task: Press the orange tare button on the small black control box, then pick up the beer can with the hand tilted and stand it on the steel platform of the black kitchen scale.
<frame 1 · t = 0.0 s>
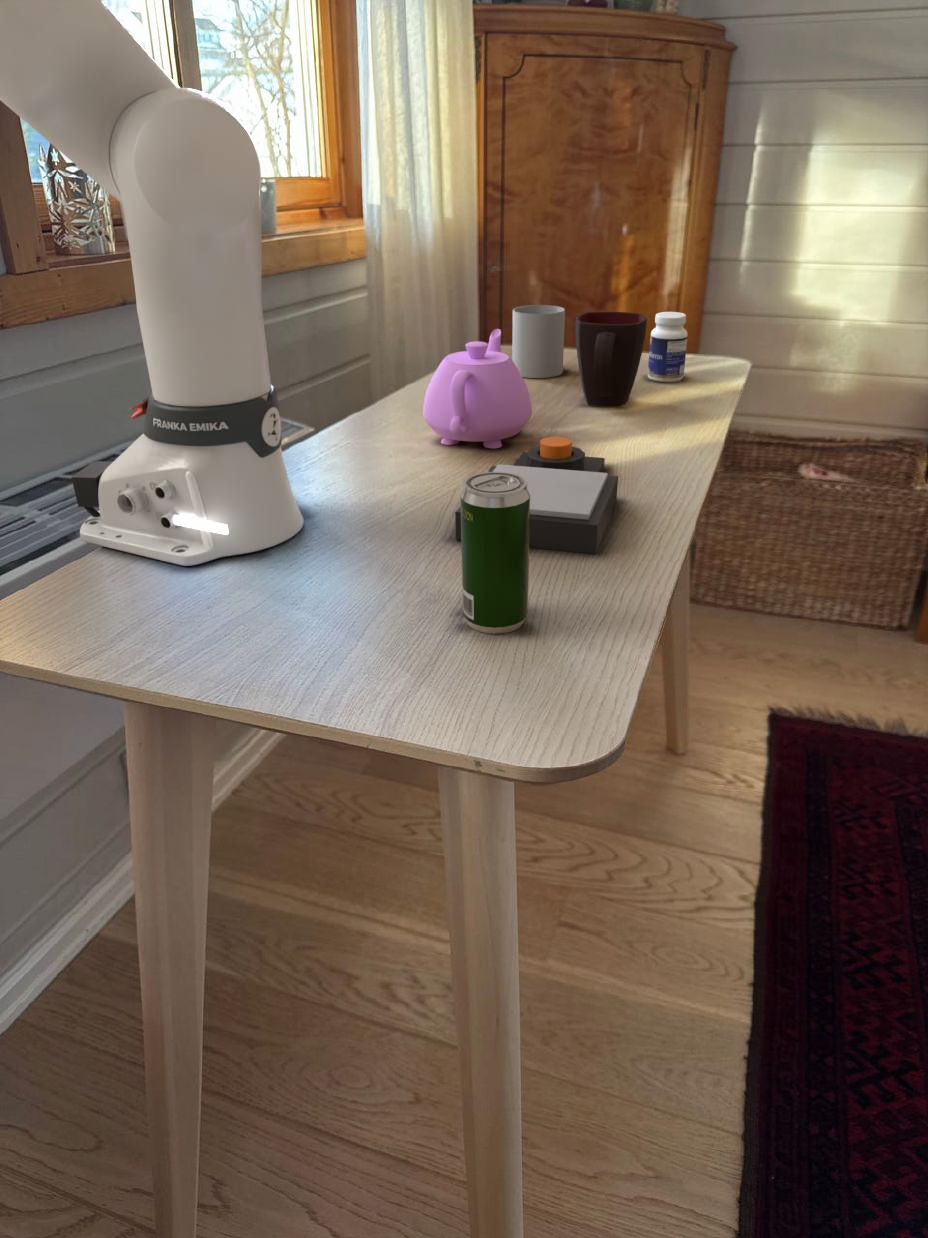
beer can: (495, 621, 75), on the table
tare button: (555, 448, 103), point 3 cm above the table, slide at 0.1 cm
cup: (537, 373, 150), on the table
teapot: (479, 436, 119), on the table
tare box: (554, 477, 104), on the table
pill bottle: (665, 379, 144), on the table
scale: (539, 520, 93), on the table
mug: (604, 406, 131), on the table
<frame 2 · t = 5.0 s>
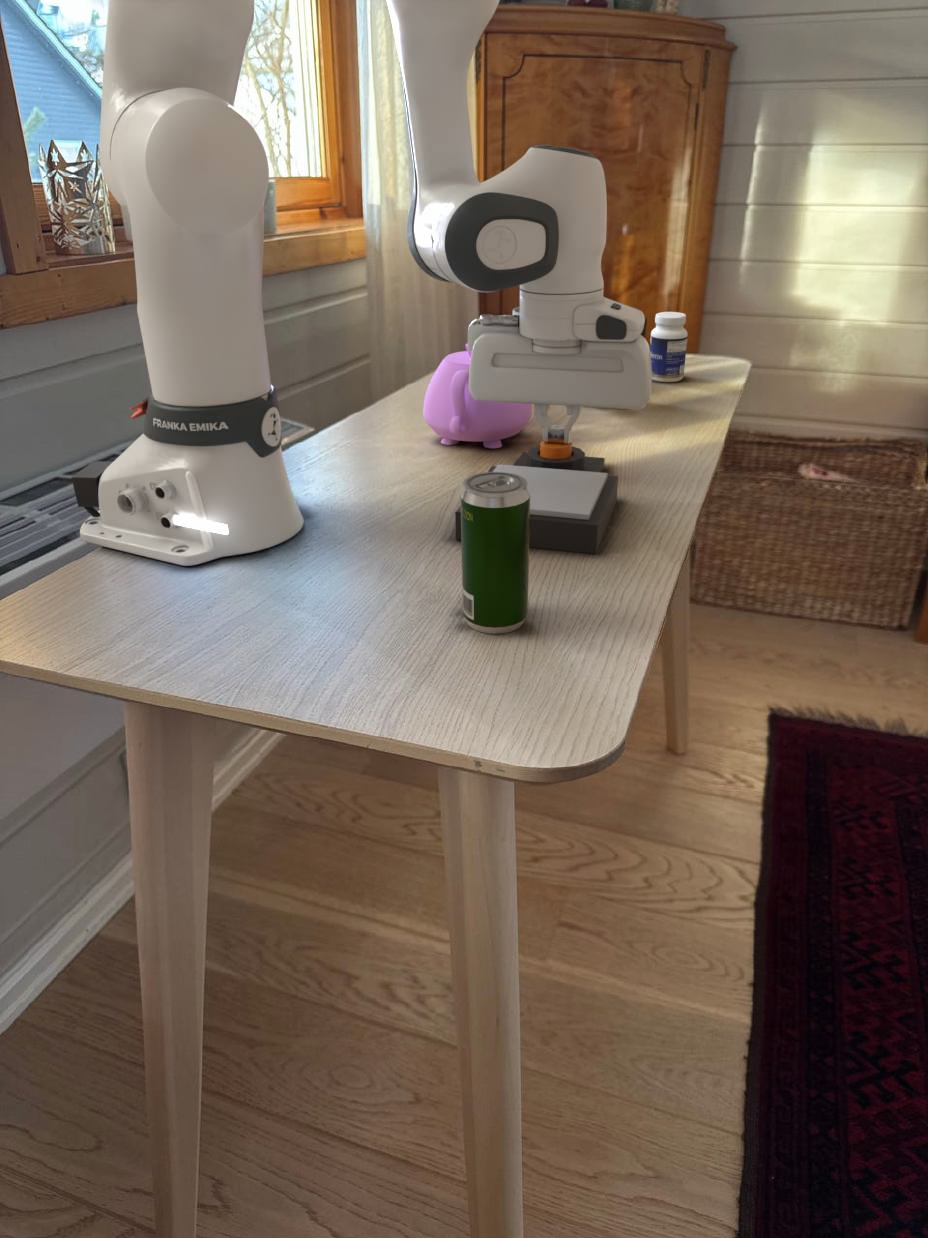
hand: (557, 442, 102), 4 cm above the table, tool pointing down, fingers closed, pressing on tare button
tare button: (555, 450, 103), point 3 cm above the table, slide at -0.1 cm, touching gripper
everything else where it was.
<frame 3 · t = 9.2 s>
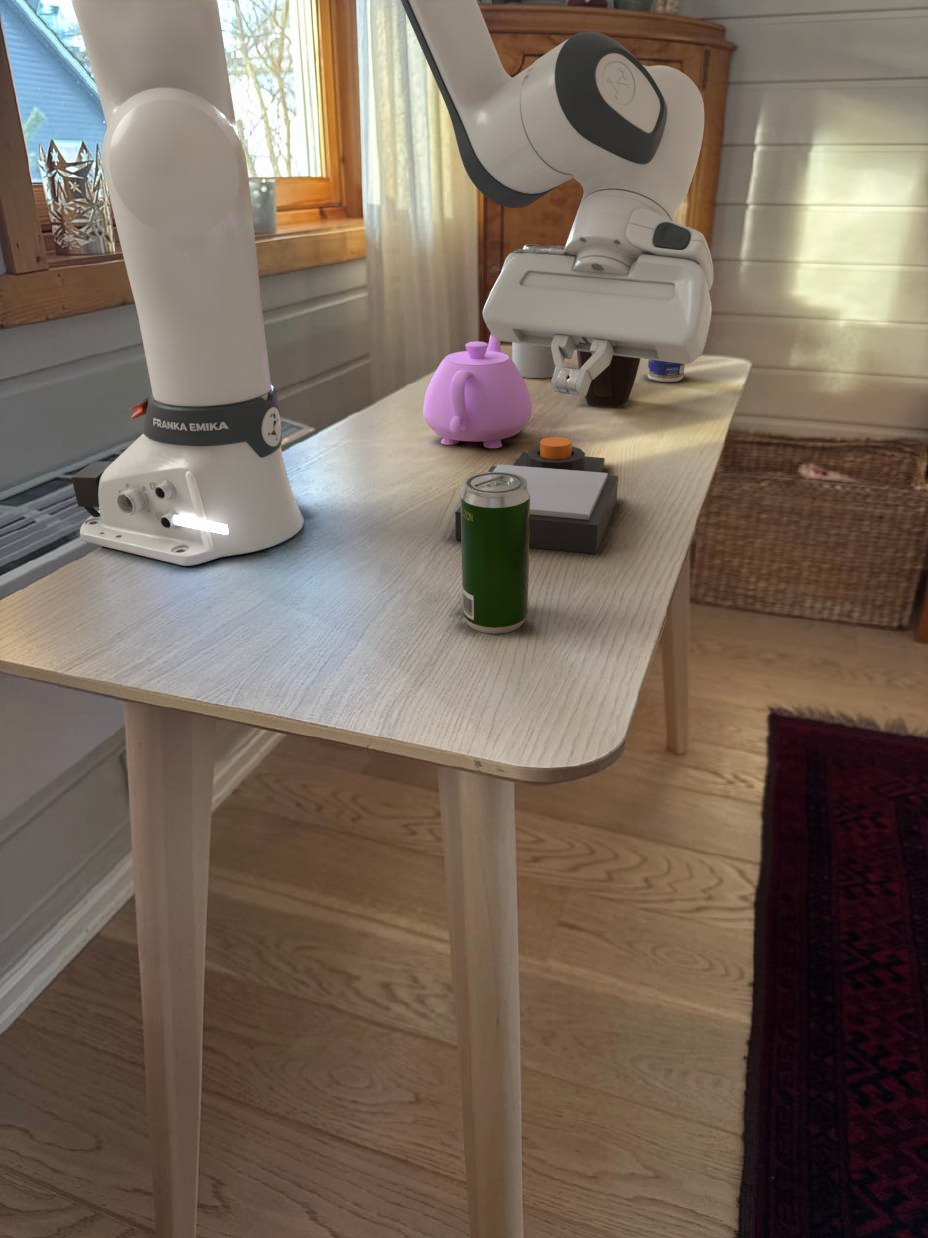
hand: (567, 391, 78), 16 cm above the table, tool tilted 40°, fingers closed
tare button: (555, 448, 103), point 3 cm above the table, slide at 0.1 cm
everything else where it was.
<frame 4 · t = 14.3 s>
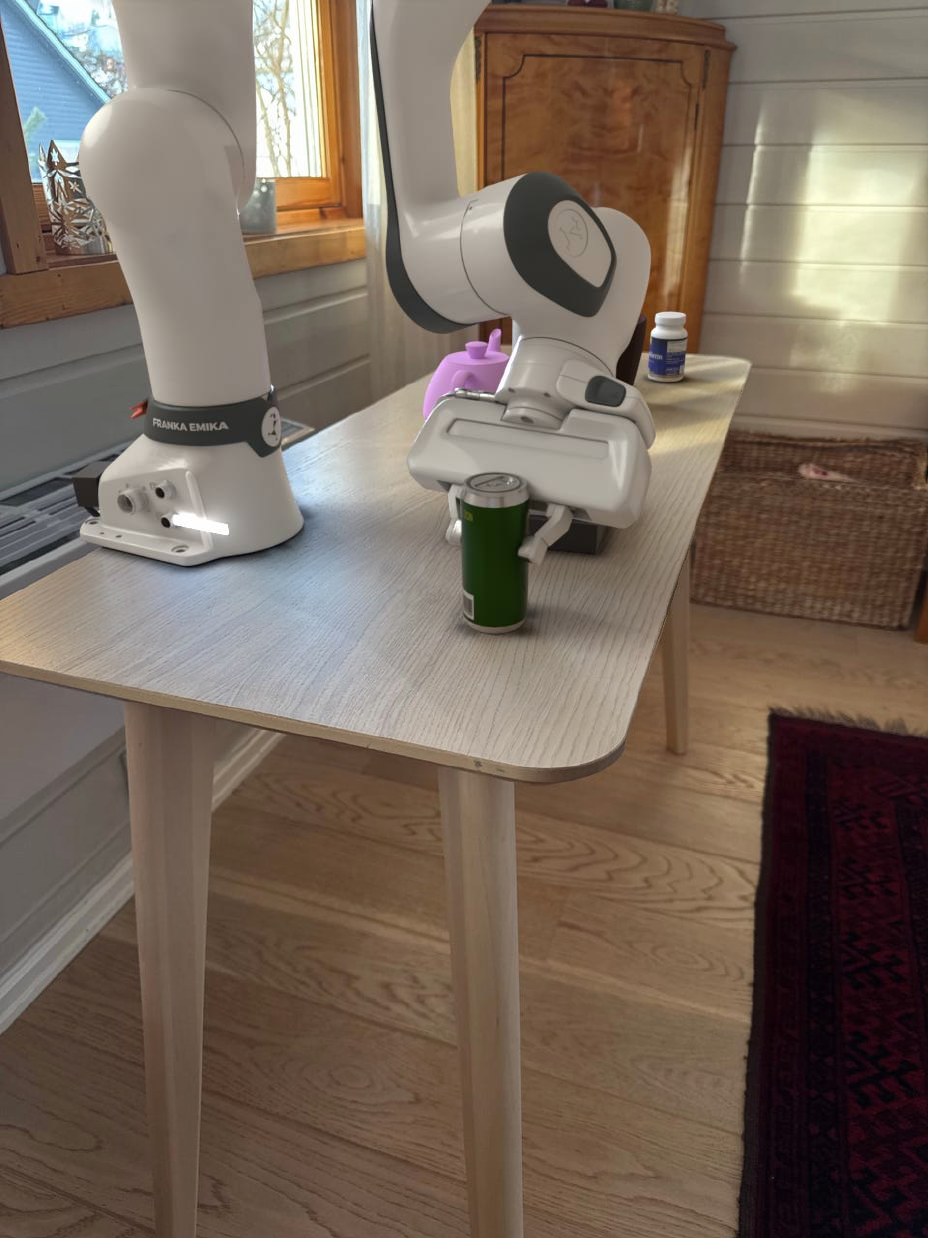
hand: (491, 552, 71), 6 cm above the table, tool tilted 45°, fingers closed on beer can, 5 cm apart
beer can: (495, 621, 75), on the table, touching gripper
everything else where it was.
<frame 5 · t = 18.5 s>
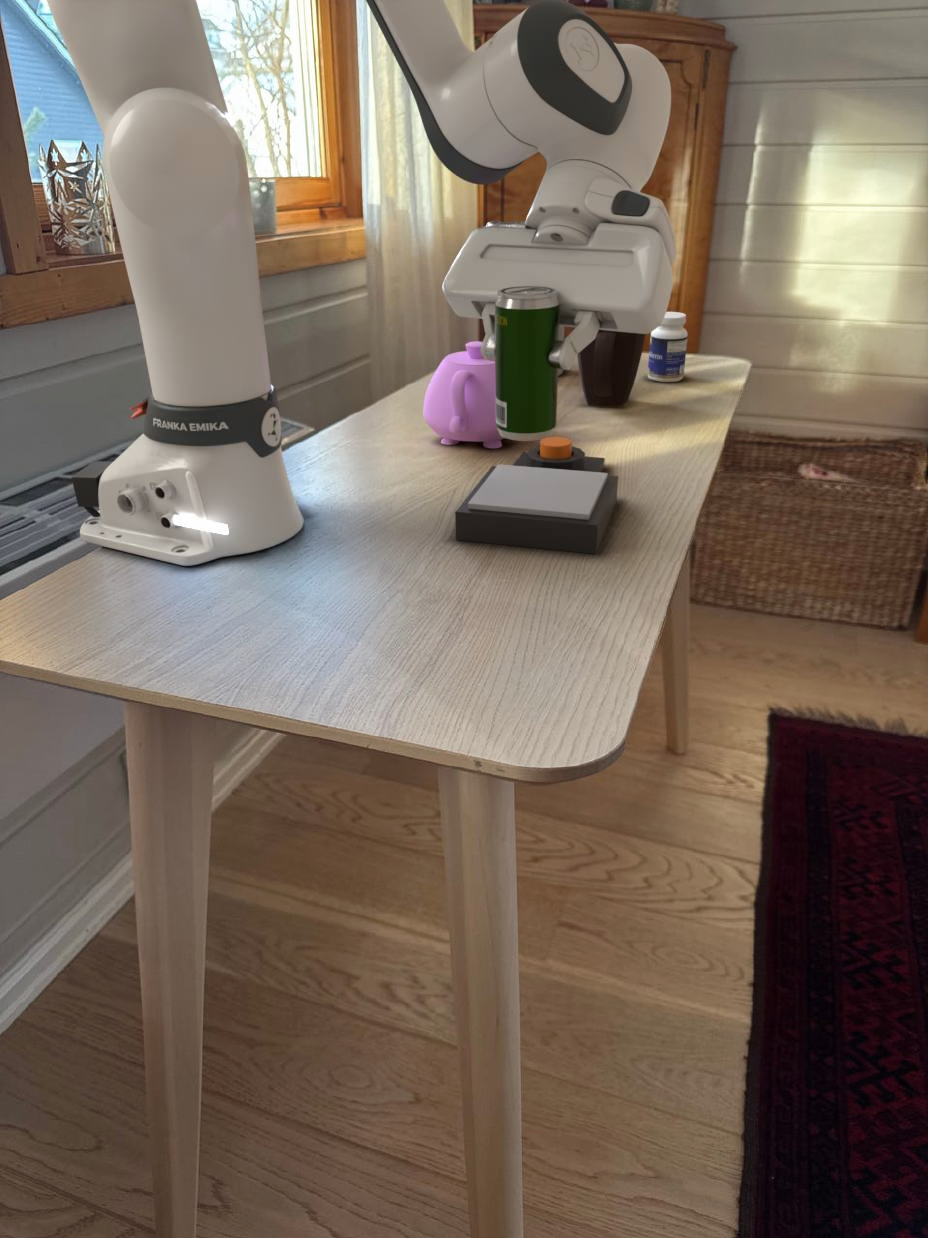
hand: (523, 361, 76), 18 cm above the table, tool tilted 45°, fingers closed on beer can, 5 cm apart
beer can: (525, 434, 80), point 12 cm above the table, touching gripper
everything else where it was.
when the fingers open (10 cm above the table, at t = 22.5 s): beer can stays where it is, resting on scale.
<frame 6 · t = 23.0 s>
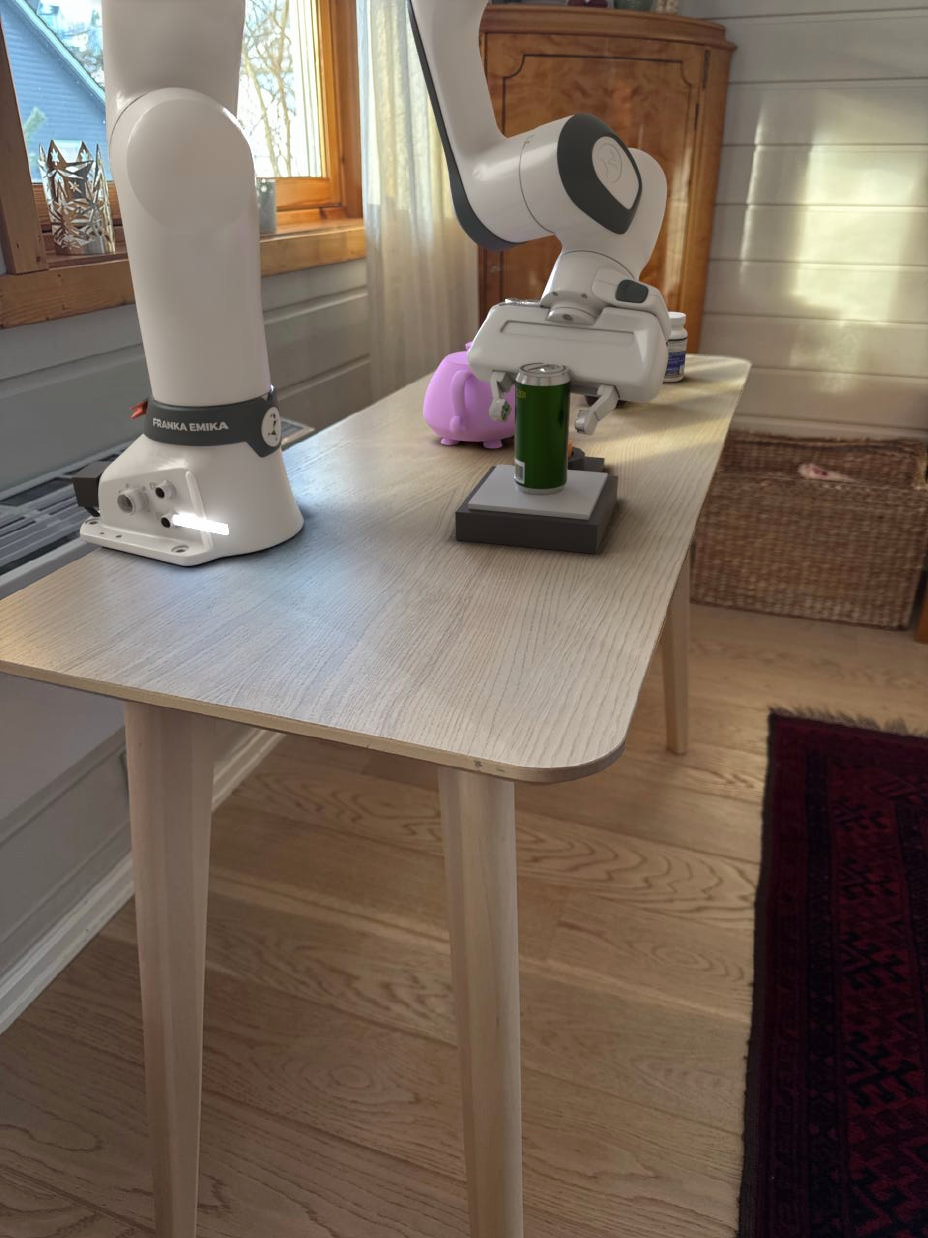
hand: (538, 424, 88), 10 cm above the table, tool tilted 45°, fingers open, 8 cm apart
beer can: (540, 488, 92), point 3 cm above the table, touching scale
everything else where it was.
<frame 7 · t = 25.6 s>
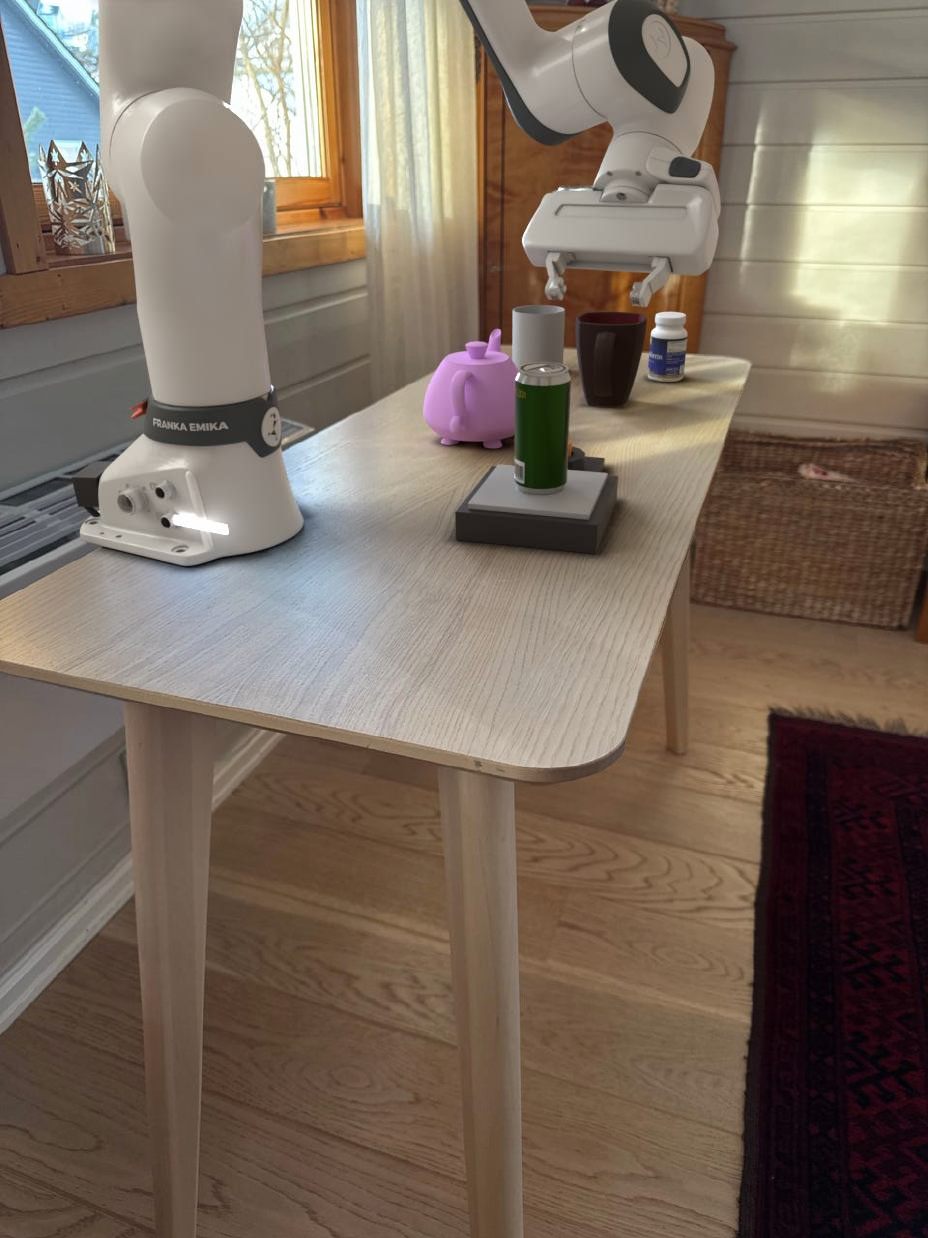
hand: (594, 299, 91), 20 cm above the table, tool tilted 45°, fingers open, 8 cm apart
nothing on the table moved.
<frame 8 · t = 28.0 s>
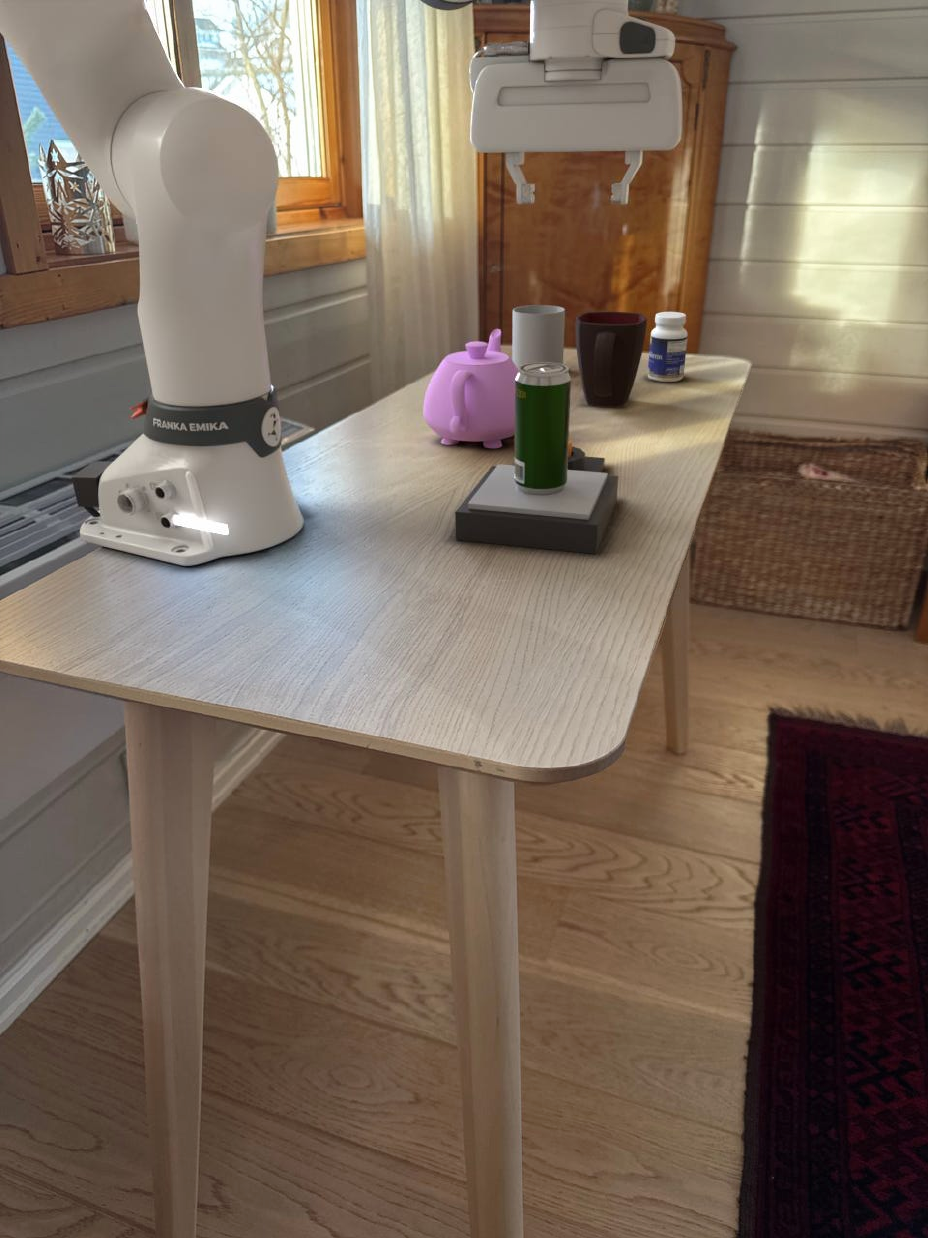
hand: (571, 203, 89), 29 cm above the table, tool pointing down, fingers open, 8 cm apart
nothing on the table moved.
at the end: tare button pushed in 1.0 cm at the most during the clip, back to where it started at the end; beer can inside the target area on the scale (0.1 cm from its centre), point 3.4 cm above the scale's base; beer can tilted 0° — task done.
